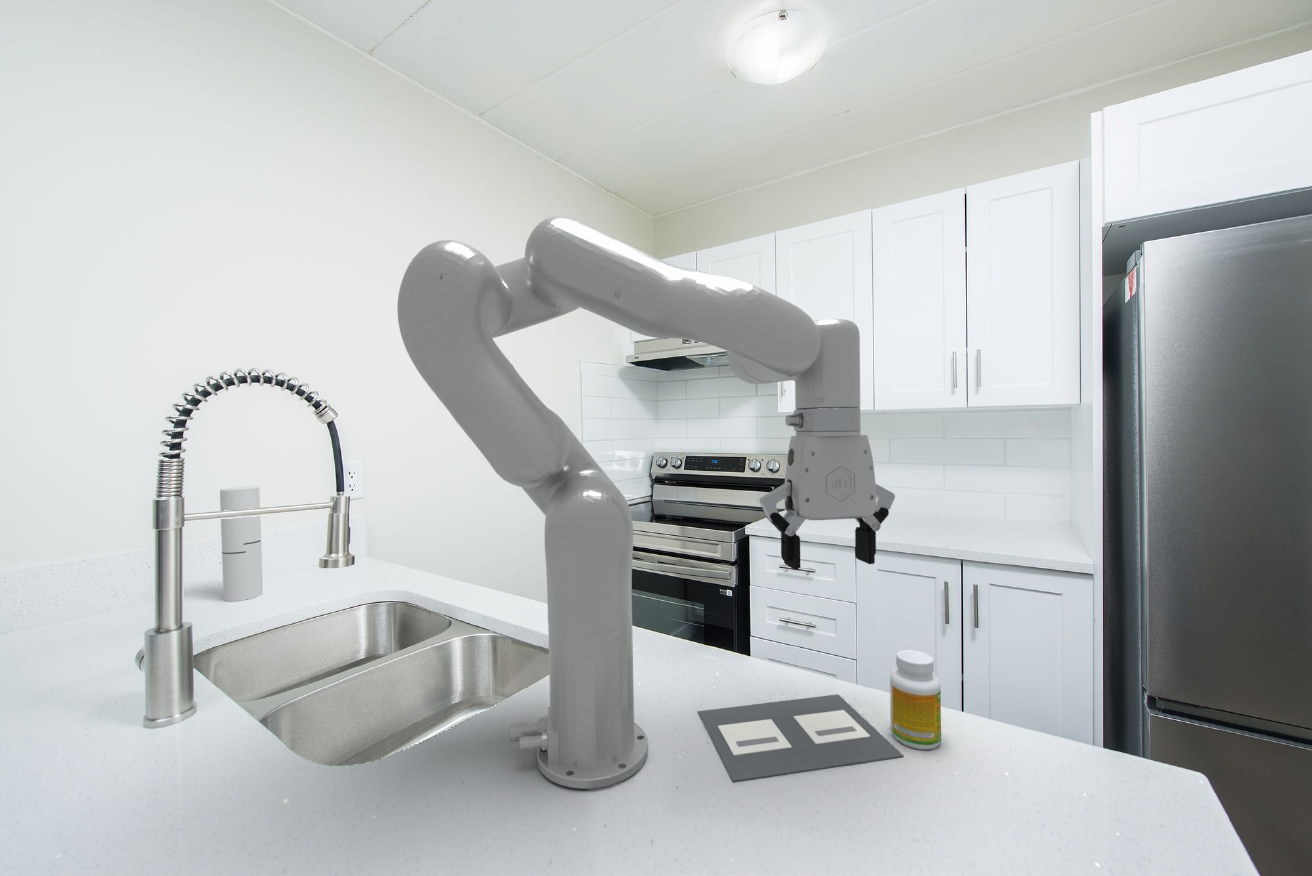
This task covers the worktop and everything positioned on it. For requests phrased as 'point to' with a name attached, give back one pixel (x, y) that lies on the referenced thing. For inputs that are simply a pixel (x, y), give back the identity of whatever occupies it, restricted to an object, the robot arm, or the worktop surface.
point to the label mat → (793, 737)
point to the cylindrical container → (241, 545)
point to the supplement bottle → (915, 701)
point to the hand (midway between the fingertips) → (828, 563)
